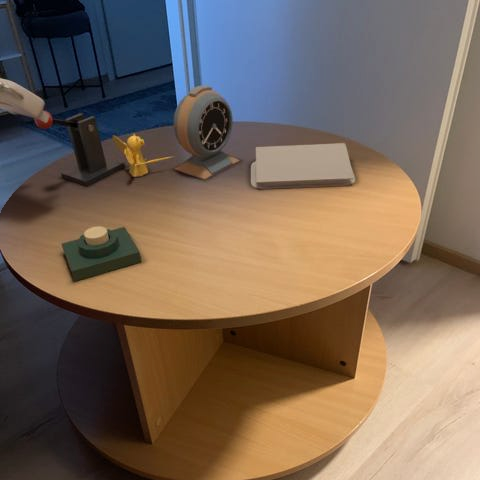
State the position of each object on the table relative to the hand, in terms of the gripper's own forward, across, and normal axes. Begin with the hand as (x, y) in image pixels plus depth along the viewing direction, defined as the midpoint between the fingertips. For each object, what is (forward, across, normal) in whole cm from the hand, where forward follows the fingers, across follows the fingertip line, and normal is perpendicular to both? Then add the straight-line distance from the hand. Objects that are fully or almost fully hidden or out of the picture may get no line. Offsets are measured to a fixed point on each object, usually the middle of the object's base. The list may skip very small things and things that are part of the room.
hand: (31, 115), depth 104 cm
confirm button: (-1, -31, +19) cm, 36 cm away
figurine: (+25, -12, -1) cm, 28 cm away
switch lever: (+7, -1, 0) cm, 7 cm away
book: (+36, -44, -13) cm, 59 cm away
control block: (+2, -31, +21) cm, 37 cm away
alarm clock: (+31, -23, -8) cm, 39 cm away
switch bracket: (+20, -1, +4) cm, 20 cm away
